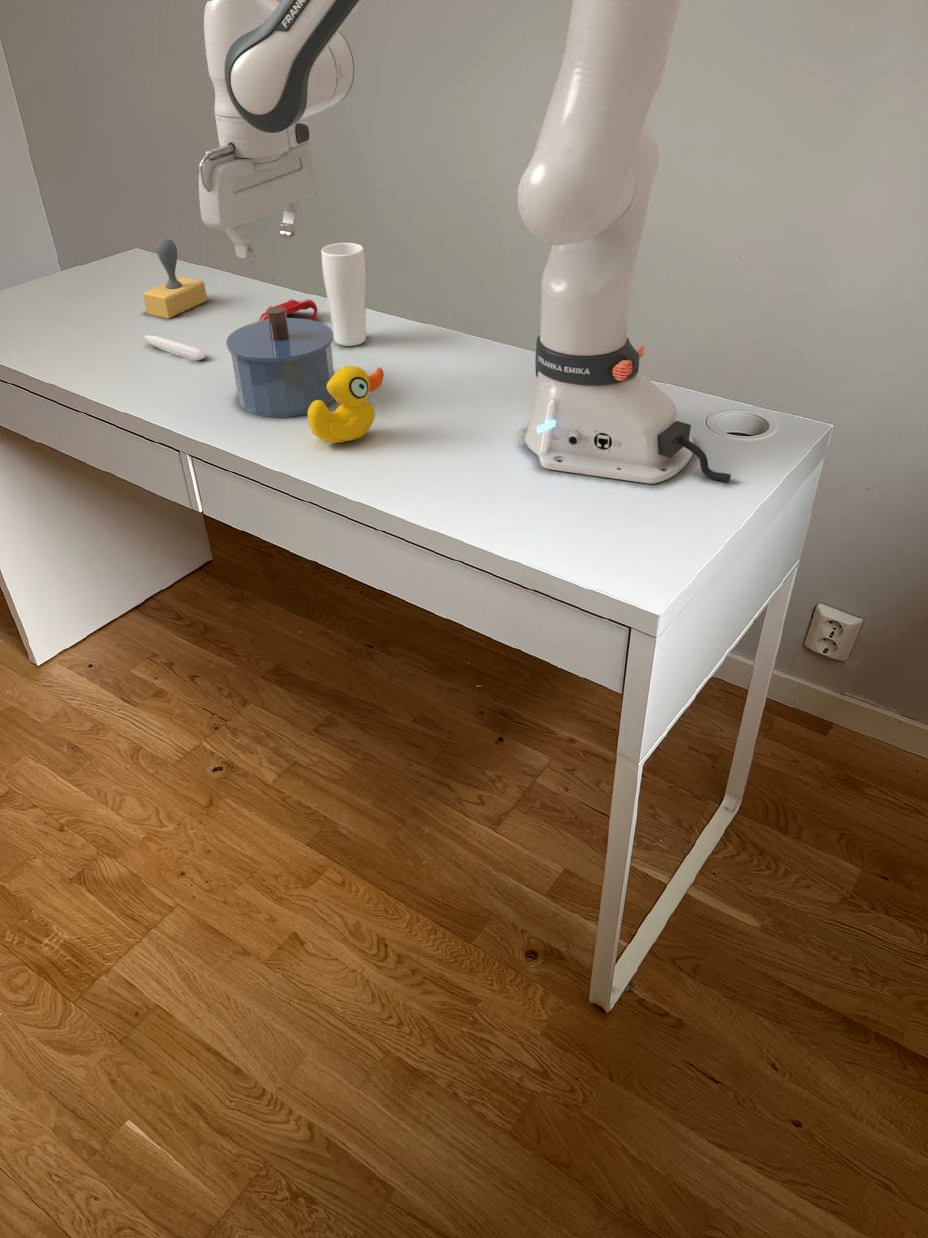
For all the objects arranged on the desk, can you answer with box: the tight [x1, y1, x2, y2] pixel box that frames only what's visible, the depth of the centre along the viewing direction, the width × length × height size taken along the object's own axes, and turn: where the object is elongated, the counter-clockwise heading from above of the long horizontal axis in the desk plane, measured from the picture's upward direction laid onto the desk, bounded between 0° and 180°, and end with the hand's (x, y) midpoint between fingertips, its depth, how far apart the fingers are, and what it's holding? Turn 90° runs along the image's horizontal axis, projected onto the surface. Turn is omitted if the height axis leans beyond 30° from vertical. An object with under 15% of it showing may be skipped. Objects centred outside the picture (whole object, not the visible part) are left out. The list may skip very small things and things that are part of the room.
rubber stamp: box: [143, 237, 208, 320], centre depth 178 cm, size 10×6×12 cm, turn 150°
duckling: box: [307, 365, 385, 444], centre depth 136 cm, size 11×5×10 cm, turn 122°
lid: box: [225, 307, 334, 362], centre depth 144 cm, size 15×15×5 cm
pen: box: [143, 334, 206, 361], centre depth 165 cm, size 2×14×2 cm, turn 56°
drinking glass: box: [320, 242, 367, 347], centre depth 163 cm, size 7×7×15 cm
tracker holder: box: [259, 298, 318, 321], centre depth 173 cm, size 12×4×10 cm
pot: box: [230, 344, 335, 418], centre depth 148 cm, size 14×14×8 cm
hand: (267, 246), depth 138 cm, fingers open, 8 cm apart
